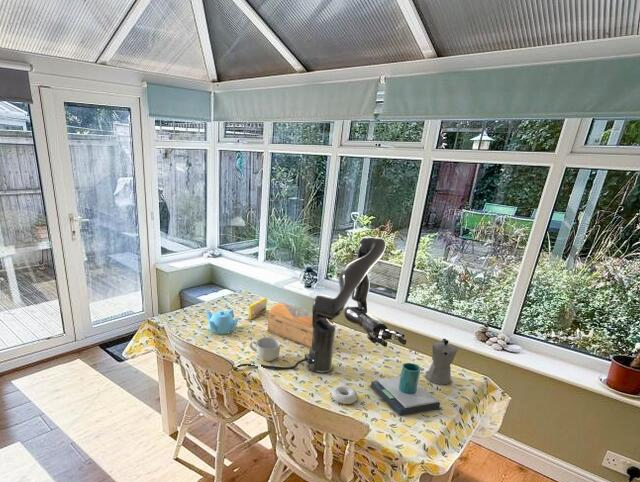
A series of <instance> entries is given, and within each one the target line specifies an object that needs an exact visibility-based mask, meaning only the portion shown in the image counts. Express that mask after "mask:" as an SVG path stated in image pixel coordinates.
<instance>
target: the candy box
mask: <svg viewBox="0 0 640 482" xmlns="http://www.w3.org/2000/svg"><path fill="white" fill-rule="evenodd" d="M267 300H268V298H267V297H263V298H261V299H259V300H257V301H256V302H253V303H251V304H249V305H248V320H250V321H252V320H253V319H255V318H256V317H259V316H261V315H262V314H263V313H265V312H266V311H267V302H268V301H267Z"/></svg>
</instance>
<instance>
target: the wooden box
mask: <svg viewBox="0 0 640 482" xmlns="http://www.w3.org/2000/svg"><path fill="white" fill-rule="evenodd" d="M327 320H328V321H329V322H330V323H332V324H333V325H334V320H330V319H327ZM267 331H268V332H269V333H273V334H275V335H277V336H280V337H283V338H285V339H288V340H289V341H290V340H291V341H293V342H296V343H298V344H301V345H303V346H306V347H309V348H310V346H312V335H313V327H312V310H309V309H305V308H302V307H299V306H295V305H292V304H288V303H286V302H278V303H276V304H274V305H273V306H272V307H271V308H270V310H269V312H268V316H267Z"/></svg>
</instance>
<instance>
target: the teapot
mask: <svg viewBox="0 0 640 482" xmlns="http://www.w3.org/2000/svg"><path fill="white" fill-rule="evenodd" d="M205 313H206V317H207V318H206V319H207V321H208V329H209V331H211V333H213V334H216V335H220V336H221V335H223V336H224V335H228V334H231V333H232V332H233V331H234V330H235V329H236V326H237V324H238V321H239V318H238V317H235V314H234V310H233V309H231V308H230V309H229V308H228V309H227V310H224V309H221V310H218V311H216V312H214V313H213V314H212V313H211V311H210V310H206V311H205ZM214 332H215V333H214ZM228 332H229V333H228Z"/></svg>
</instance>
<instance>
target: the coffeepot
mask: <svg viewBox="0 0 640 482" xmlns="http://www.w3.org/2000/svg"><path fill="white" fill-rule="evenodd" d="M449 342H450V341H449V340H448V339H446V338H442V340H441V341H435V343H433V344H432V356H431V359H432V363H431V364H430V367H429V369H428V371H427V373H426V378H427V380H429V381H430V382H431V383H434V384H438V385H448V384H449V383H450V382H451V376H452V375H451V374H452V373H451V370H452V369H451V365H452V363H453V362H454V360H455V357H456V354H457V352H458V350H459V349H458V348H457V347H456V346H455V345H454V344H452V343H449Z"/></svg>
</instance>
